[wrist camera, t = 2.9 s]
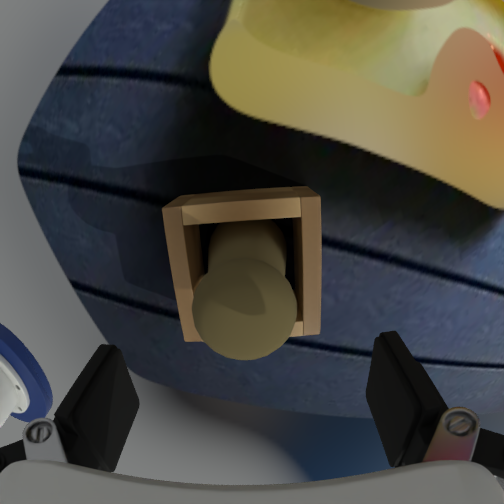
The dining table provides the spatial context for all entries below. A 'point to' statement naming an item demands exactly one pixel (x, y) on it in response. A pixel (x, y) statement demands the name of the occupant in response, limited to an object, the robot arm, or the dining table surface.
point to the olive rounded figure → (245, 291)
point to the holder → (242, 209)
